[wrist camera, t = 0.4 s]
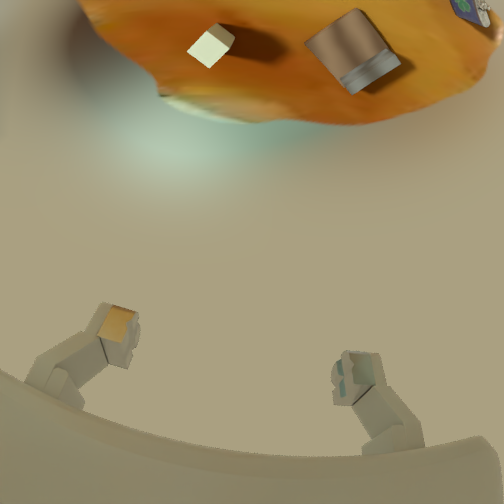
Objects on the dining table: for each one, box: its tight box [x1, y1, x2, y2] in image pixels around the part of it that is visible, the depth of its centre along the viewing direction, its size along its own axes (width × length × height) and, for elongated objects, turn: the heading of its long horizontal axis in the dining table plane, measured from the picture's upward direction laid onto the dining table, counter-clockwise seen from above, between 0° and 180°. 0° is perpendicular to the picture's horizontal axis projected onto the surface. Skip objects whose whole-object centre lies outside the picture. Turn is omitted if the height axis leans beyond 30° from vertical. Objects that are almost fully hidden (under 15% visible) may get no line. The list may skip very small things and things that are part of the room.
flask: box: [450, 0, 490, 28], centre depth 23 cm, size 9×3×11 cm, turn 27°
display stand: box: [304, 8, 401, 95], centre depth 38 cm, size 12×11×6 cm
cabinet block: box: [187, 23, 235, 68], centre depth 38 cm, size 4×4×10 cm
